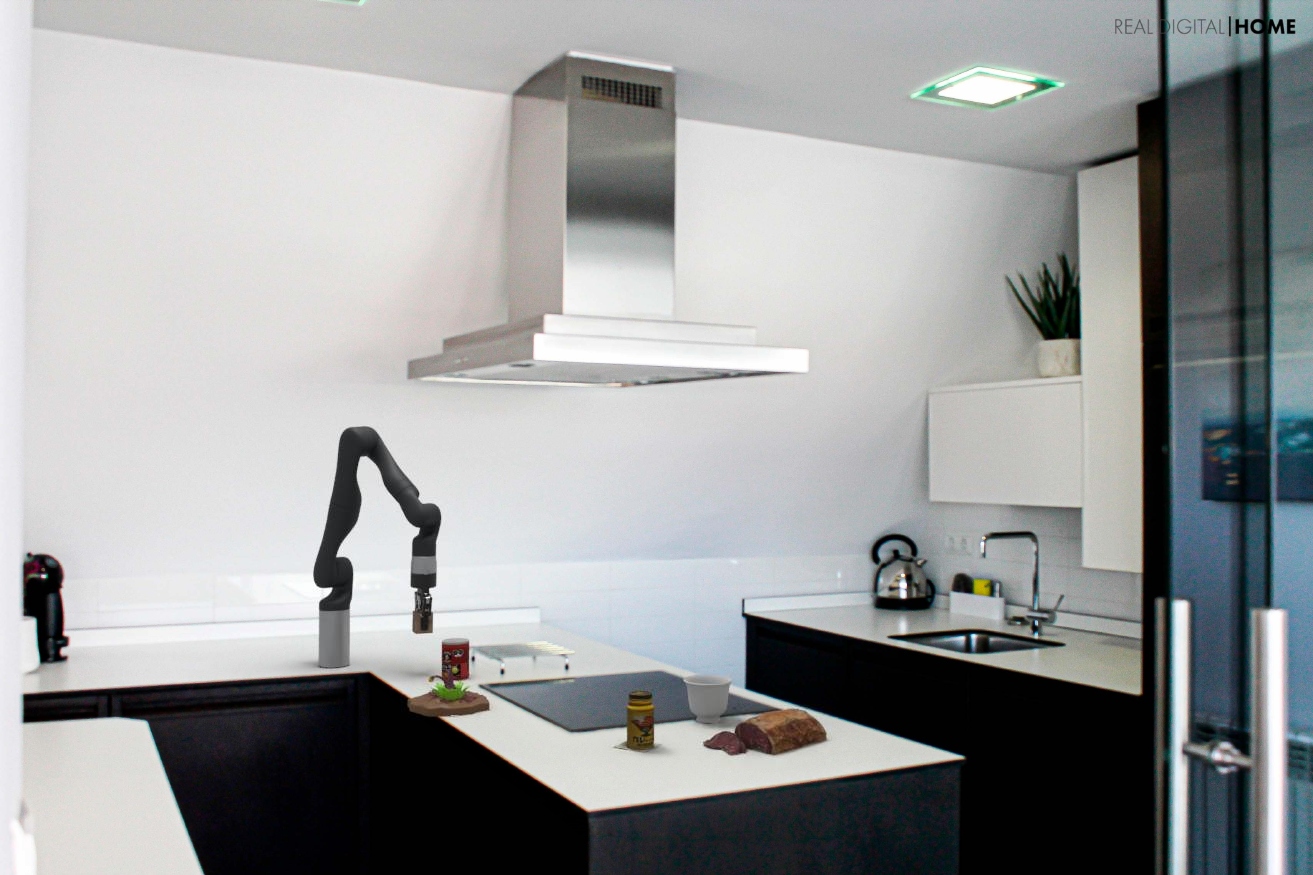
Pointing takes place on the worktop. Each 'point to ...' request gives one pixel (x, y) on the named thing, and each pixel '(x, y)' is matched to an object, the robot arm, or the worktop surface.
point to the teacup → (708, 696)
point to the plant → (448, 699)
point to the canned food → (455, 657)
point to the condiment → (640, 722)
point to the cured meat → (771, 733)
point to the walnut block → (417, 623)
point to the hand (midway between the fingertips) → (422, 628)
